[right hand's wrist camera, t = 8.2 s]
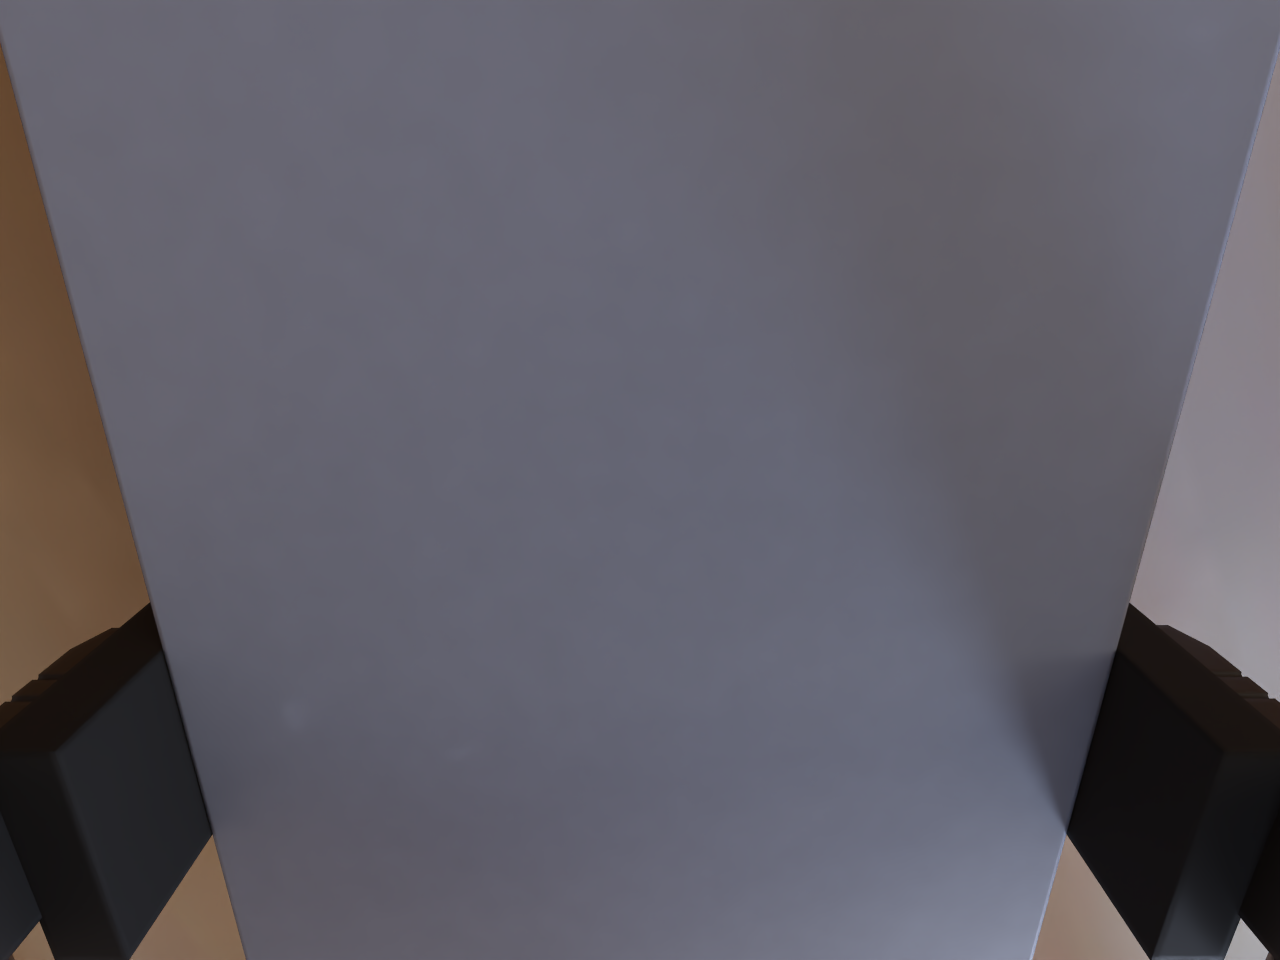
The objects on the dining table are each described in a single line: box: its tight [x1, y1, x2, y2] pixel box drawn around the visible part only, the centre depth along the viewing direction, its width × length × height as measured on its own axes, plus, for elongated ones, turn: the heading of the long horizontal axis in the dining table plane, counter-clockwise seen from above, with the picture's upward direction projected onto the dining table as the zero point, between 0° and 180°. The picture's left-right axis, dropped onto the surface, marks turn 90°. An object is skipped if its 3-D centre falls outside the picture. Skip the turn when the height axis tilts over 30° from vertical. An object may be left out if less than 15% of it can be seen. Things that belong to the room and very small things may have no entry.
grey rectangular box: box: [0, 0, 1280, 960], centre depth 11 cm, size 20×11×10 cm, turn 0°
